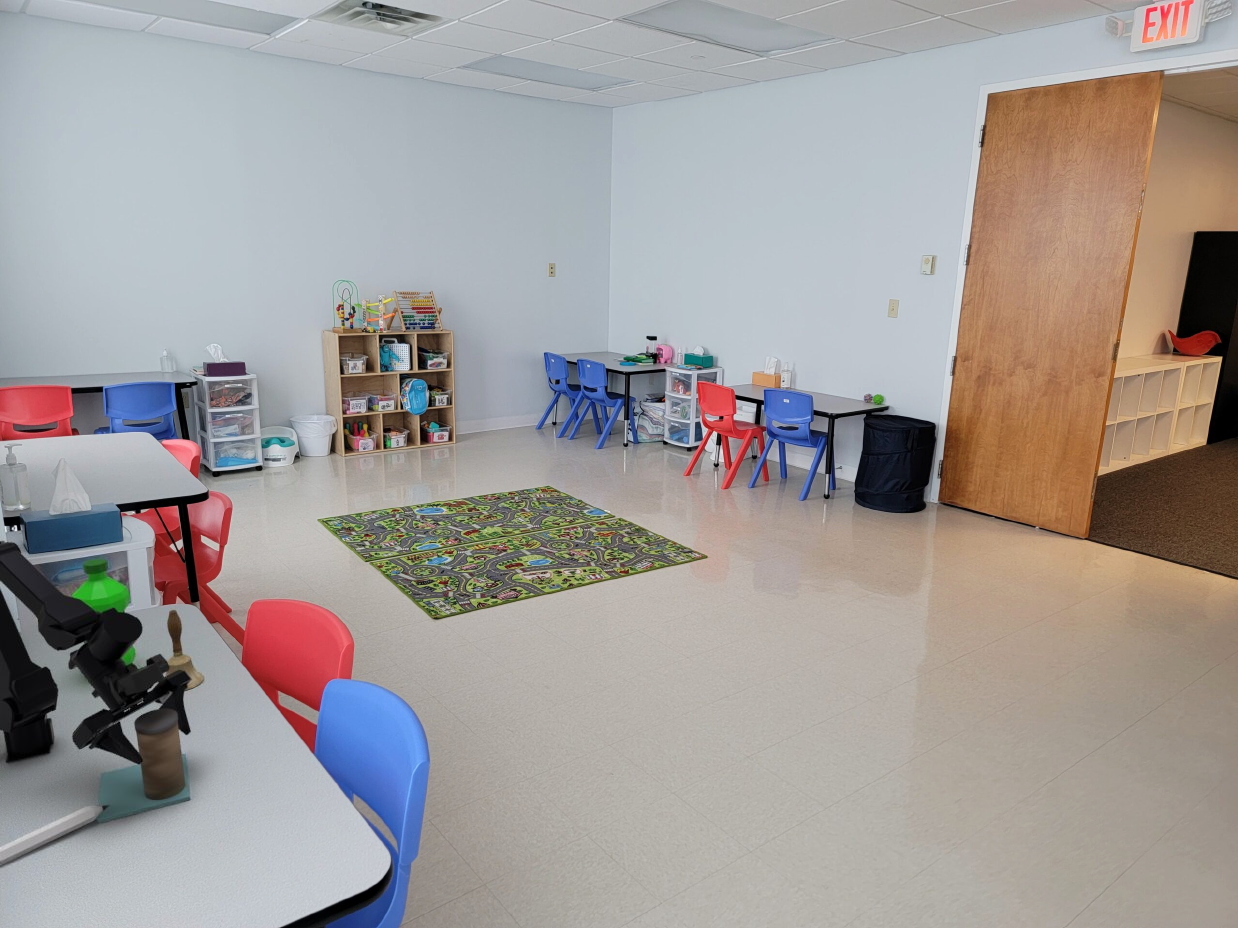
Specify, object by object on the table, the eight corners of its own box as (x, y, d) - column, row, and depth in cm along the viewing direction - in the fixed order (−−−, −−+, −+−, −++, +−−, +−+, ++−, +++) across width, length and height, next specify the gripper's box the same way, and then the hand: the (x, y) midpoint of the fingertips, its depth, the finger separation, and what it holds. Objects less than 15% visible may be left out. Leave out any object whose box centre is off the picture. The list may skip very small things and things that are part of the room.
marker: (113, 813, 138) (-5, 869, 126) (108, 803, 139) (-10, 857, 127) (114, 804, 136) (-5, 860, 125) (108, 794, 137) (-11, 848, 125)
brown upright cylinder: (136, 800, 140) (126, 729, 137) (154, 777, 146) (145, 708, 143) (176, 799, 140) (167, 728, 137) (192, 777, 146) (183, 708, 143)
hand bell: (150, 687, 177) (140, 615, 173) (183, 670, 184) (175, 600, 181) (180, 695, 174) (171, 622, 170) (213, 677, 181) (205, 607, 178)
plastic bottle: (71, 680, 180) (53, 566, 174) (116, 658, 189) (101, 550, 183) (104, 689, 176) (88, 574, 170) (149, 667, 185) (135, 557, 179)
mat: (98, 823, 135) (97, 819, 135) (101, 776, 147) (100, 773, 147) (190, 799, 141) (189, 796, 141) (186, 756, 153) (185, 753, 153)
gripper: (74, 672, 130) (137, 754, 129) (177, 624, 147) (233, 696, 146) (45, 709, 135) (106, 788, 133) (148, 658, 152) (203, 728, 150)
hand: (165, 747), depth 141 cm, fingers open, 9 cm apart
